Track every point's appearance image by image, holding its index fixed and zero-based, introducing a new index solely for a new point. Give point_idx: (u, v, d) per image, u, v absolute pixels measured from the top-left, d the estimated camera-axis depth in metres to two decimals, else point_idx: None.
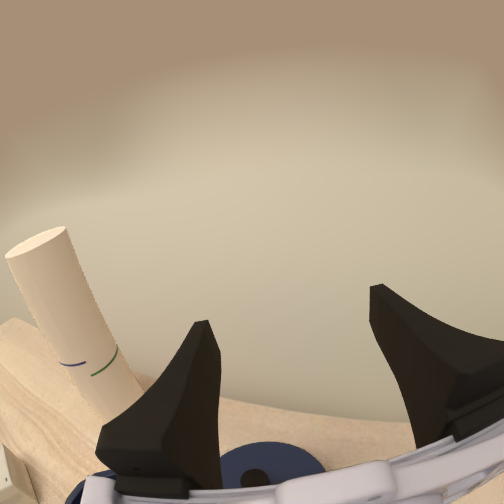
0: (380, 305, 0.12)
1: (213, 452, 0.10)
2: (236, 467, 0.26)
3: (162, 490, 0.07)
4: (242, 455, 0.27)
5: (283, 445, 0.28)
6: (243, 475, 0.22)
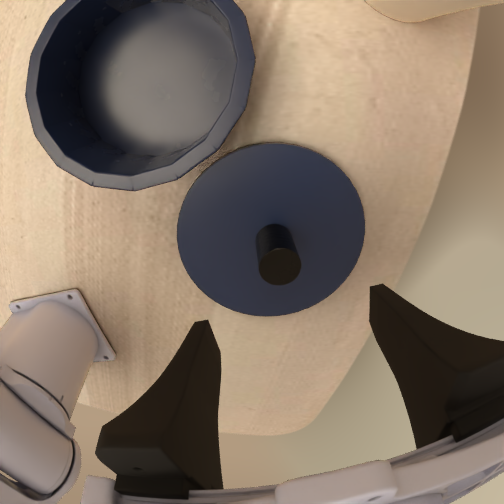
0: (380, 305, 0.12)
1: (213, 452, 0.10)
2: (319, 197, 0.20)
3: (161, 490, 0.07)
4: (341, 202, 0.20)
5: (354, 257, 0.22)
6: (287, 251, 0.17)
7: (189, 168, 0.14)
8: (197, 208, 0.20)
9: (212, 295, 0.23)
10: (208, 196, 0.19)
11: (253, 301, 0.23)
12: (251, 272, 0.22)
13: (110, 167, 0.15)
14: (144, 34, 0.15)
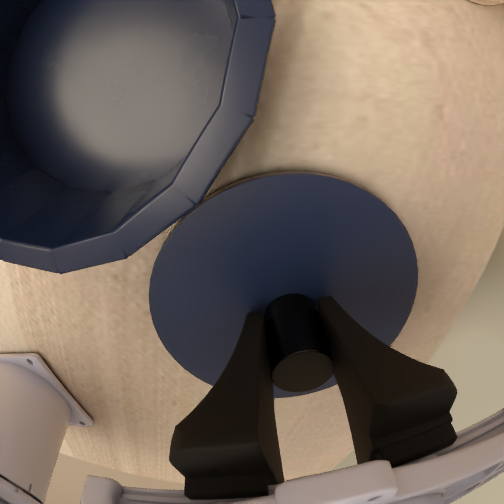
0: (324, 319, 0.12)
1: (276, 445, 0.10)
2: (360, 255, 0.13)
3: (242, 489, 0.07)
4: (391, 260, 0.13)
5: (398, 327, 0.15)
6: (316, 353, 0.10)
7: (145, 239, 0.07)
8: (176, 272, 0.13)
9: (204, 377, 0.16)
10: (192, 255, 0.12)
11: None
12: None
13: (29, 225, 0.08)
14: (93, 4, 0.08)
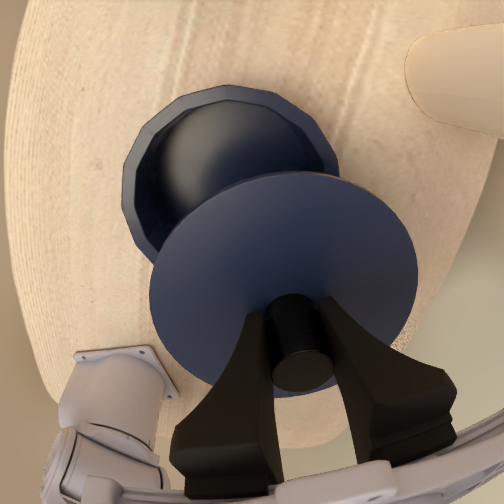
0: (323, 318, 0.12)
1: (276, 445, 0.10)
2: (360, 255, 0.13)
3: (242, 489, 0.07)
4: (391, 260, 0.13)
5: (398, 327, 0.15)
6: (317, 353, 0.10)
7: None
8: (176, 272, 0.13)
9: (204, 377, 0.16)
10: (192, 255, 0.12)
11: None
12: None
13: None
14: (223, 134, 0.19)
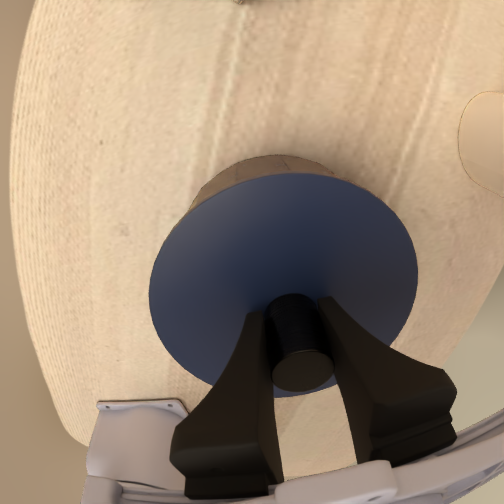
0: (324, 318, 0.12)
1: (276, 445, 0.10)
2: (360, 254, 0.13)
3: (242, 489, 0.07)
4: (391, 260, 0.13)
5: (398, 327, 0.15)
6: (316, 353, 0.10)
7: None
8: (176, 272, 0.13)
9: (204, 377, 0.16)
10: (192, 255, 0.12)
11: None
12: None
13: None
14: None
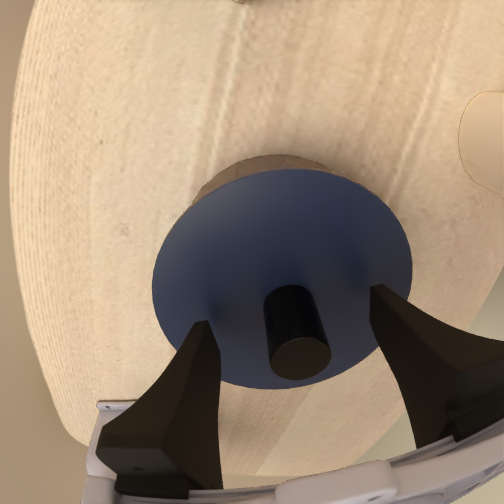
0: (380, 305, 0.12)
1: (213, 452, 0.10)
2: (356, 247, 0.13)
3: (162, 490, 0.07)
4: (386, 253, 0.13)
5: None
6: (313, 341, 0.11)
7: None
8: (178, 264, 0.13)
9: None
10: (194, 248, 0.13)
11: (259, 375, 0.17)
12: (257, 344, 0.16)
13: None
14: None
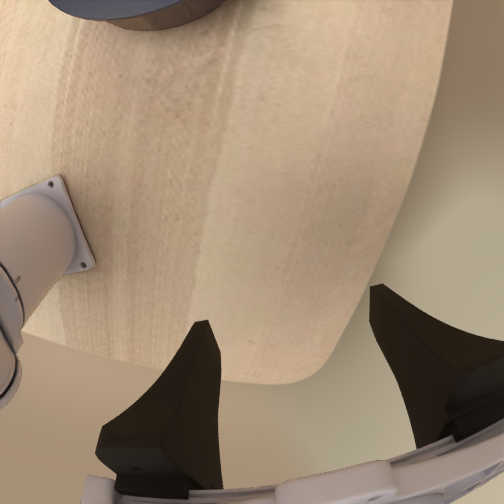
0: (380, 305, 0.12)
1: (213, 452, 0.10)
2: None
3: (162, 490, 0.07)
4: None
5: None
6: None
7: None
8: None
9: (59, 2, 0.10)
10: None
11: None
12: None
13: None
14: None
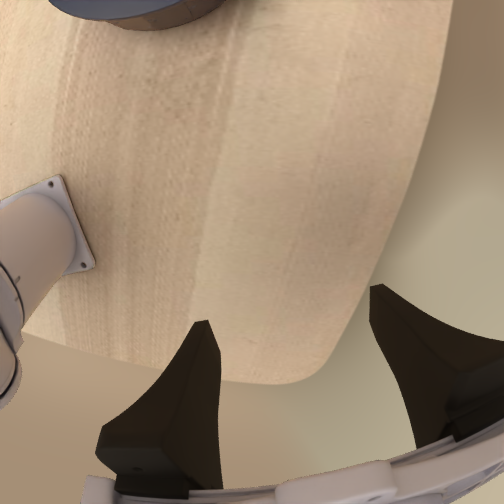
0: (380, 305, 0.12)
1: (213, 452, 0.10)
2: None
3: (162, 490, 0.07)
4: None
5: None
6: None
7: None
8: None
9: (59, 2, 0.10)
10: None
11: None
12: None
13: None
14: None
